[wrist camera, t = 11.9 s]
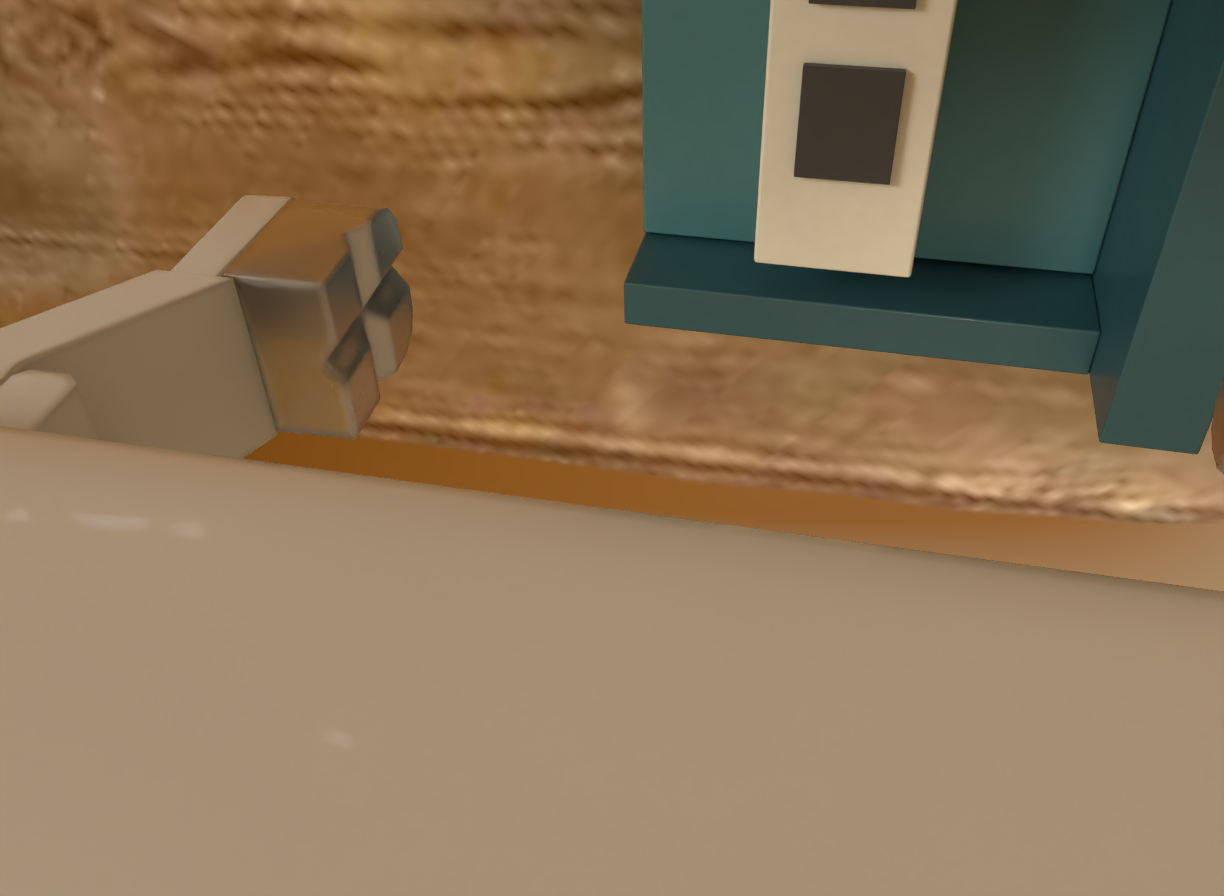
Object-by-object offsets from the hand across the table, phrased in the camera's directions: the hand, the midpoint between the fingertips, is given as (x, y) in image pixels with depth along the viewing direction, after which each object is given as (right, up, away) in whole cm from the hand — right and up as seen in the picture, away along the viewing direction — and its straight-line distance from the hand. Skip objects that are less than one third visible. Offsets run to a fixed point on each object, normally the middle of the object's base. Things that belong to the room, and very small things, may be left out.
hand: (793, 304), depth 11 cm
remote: (+4, +9, +13) cm, 16 cm away
